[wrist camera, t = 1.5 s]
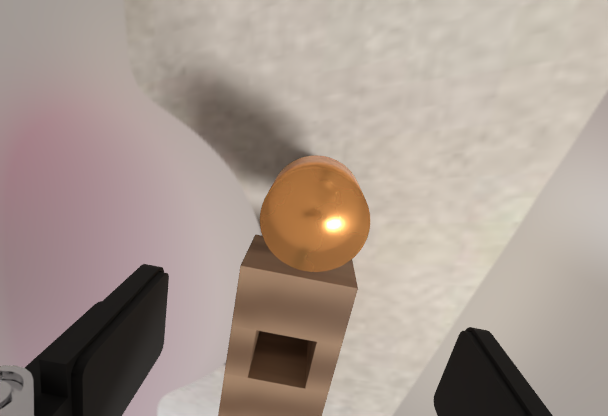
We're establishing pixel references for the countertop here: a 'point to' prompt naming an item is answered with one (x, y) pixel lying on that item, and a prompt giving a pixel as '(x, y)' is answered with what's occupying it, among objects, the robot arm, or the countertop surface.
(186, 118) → the countertop surface
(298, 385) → the block
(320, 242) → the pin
